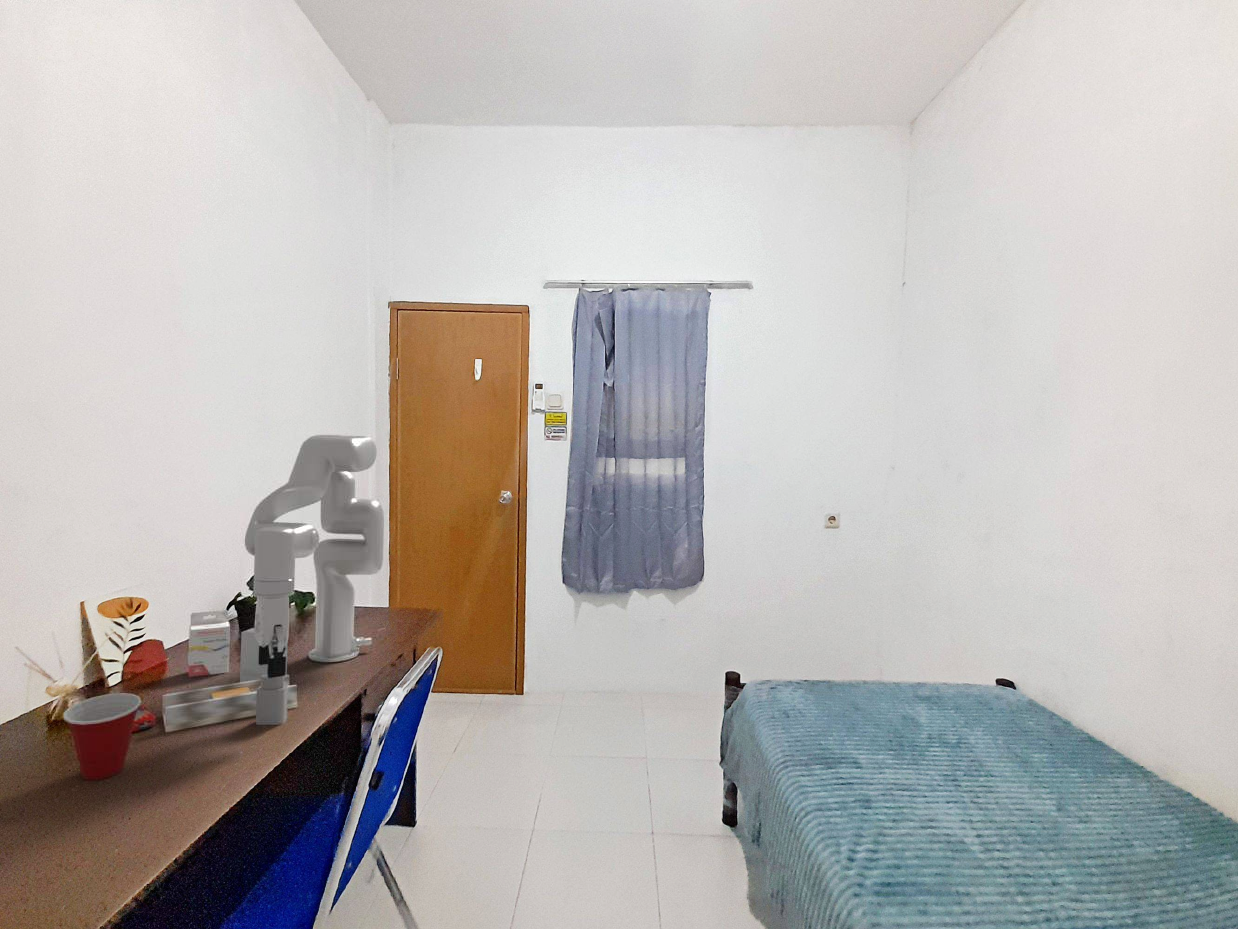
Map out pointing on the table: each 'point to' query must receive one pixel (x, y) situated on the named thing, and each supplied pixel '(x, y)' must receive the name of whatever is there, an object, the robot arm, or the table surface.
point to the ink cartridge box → (209, 643)
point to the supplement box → (251, 658)
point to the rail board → (214, 705)
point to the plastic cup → (102, 732)
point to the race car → (143, 719)
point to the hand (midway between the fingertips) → (271, 670)
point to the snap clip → (230, 692)
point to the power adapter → (271, 701)
